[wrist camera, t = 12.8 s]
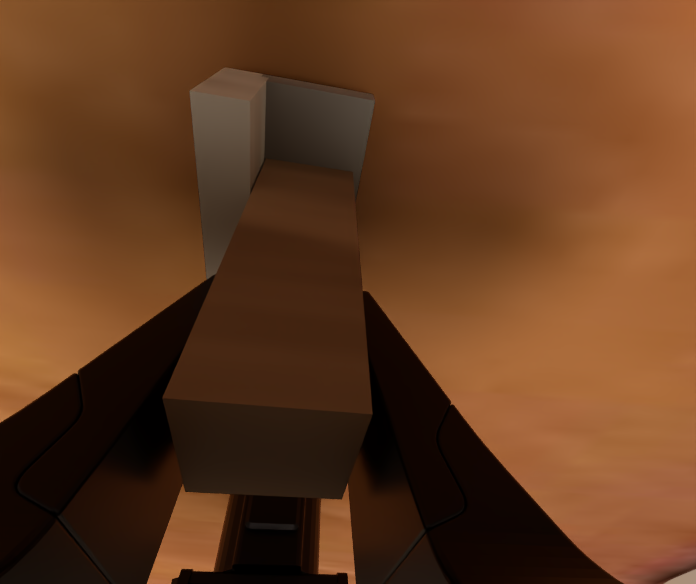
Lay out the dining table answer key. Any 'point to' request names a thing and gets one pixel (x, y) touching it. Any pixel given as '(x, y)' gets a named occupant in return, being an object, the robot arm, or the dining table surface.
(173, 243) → the dining table surface
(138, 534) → the robot arm
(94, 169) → the dining table surface
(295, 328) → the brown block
